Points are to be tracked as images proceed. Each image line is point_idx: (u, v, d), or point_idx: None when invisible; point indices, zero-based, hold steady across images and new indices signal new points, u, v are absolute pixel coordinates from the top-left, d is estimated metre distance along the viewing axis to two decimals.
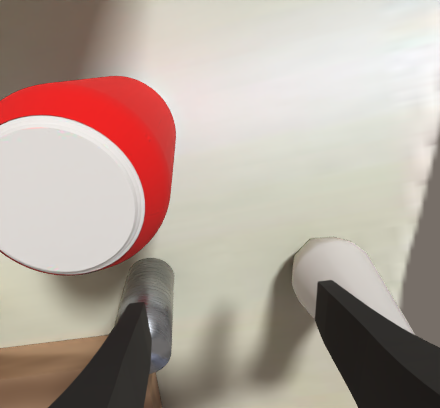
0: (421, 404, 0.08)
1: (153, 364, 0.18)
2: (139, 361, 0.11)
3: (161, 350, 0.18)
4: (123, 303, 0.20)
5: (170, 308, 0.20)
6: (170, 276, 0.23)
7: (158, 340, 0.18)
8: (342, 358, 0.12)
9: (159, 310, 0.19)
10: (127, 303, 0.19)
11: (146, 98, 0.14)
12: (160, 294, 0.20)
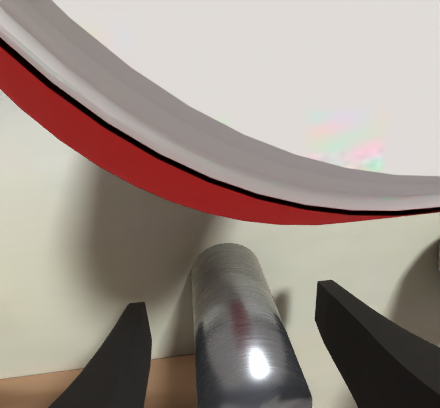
0: (421, 404, 0.08)
1: None
2: (139, 361, 0.11)
3: (294, 407, 0.09)
4: (206, 316, 0.11)
5: None
6: None
7: (293, 390, 0.09)
8: (343, 358, 0.12)
9: (276, 329, 0.11)
10: (216, 316, 0.11)
11: None
12: (265, 300, 0.12)
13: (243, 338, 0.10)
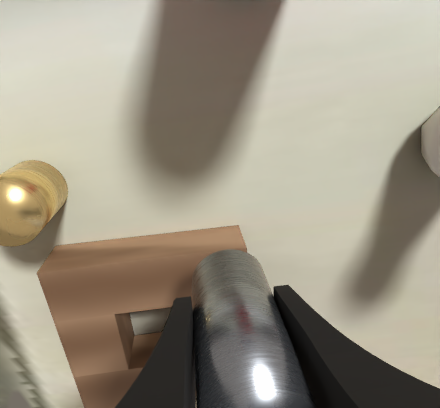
0: None
1: None
2: (192, 354, 0.11)
3: None
4: (208, 329, 0.11)
5: None
6: (266, 280, 0.14)
7: None
8: None
9: (284, 345, 0.10)
10: (219, 331, 0.10)
11: None
12: (272, 313, 0.11)
13: (249, 356, 0.09)
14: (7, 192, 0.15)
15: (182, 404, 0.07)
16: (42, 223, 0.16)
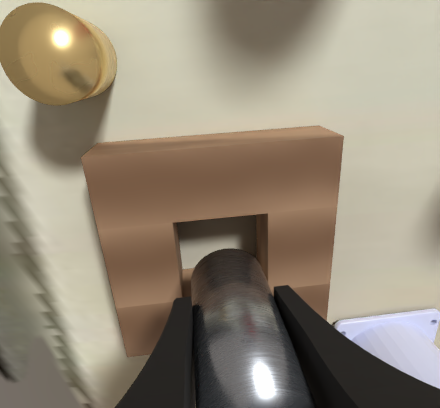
0: None
1: None
2: (192, 354, 0.11)
3: None
4: (209, 327, 0.11)
5: None
6: (266, 280, 0.14)
7: None
8: None
9: (286, 345, 0.10)
10: (221, 329, 0.10)
11: None
12: (273, 313, 0.11)
13: (251, 354, 0.09)
14: (54, 19, 0.11)
15: (182, 404, 0.07)
16: (96, 73, 0.12)
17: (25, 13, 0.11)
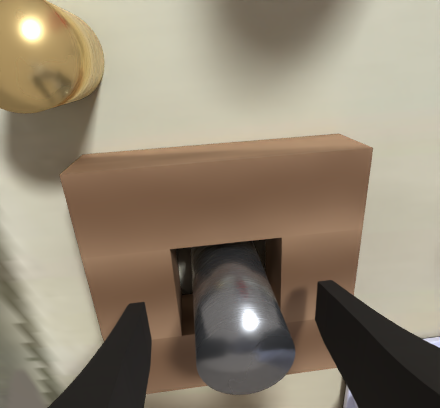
0: (421, 404, 0.08)
1: (262, 379, 0.11)
2: (139, 361, 0.11)
3: (280, 356, 0.11)
4: (206, 281, 0.13)
5: None
6: (255, 250, 0.16)
7: (279, 340, 0.11)
8: (342, 358, 0.12)
9: (267, 292, 0.12)
10: (215, 280, 0.13)
11: None
12: (259, 271, 0.13)
13: (238, 296, 0.11)
14: (19, 5, 0.09)
15: None
16: (74, 73, 0.10)
17: None
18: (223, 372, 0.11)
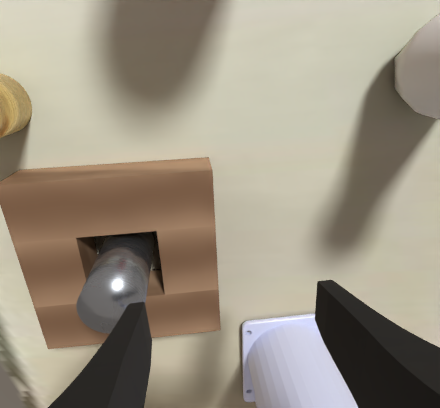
0: (421, 404, 0.08)
1: None
2: (139, 361, 0.11)
3: None
4: (97, 259, 0.19)
5: (147, 269, 0.19)
6: (150, 240, 0.22)
7: (131, 295, 0.17)
8: (342, 358, 0.12)
9: (135, 266, 0.18)
10: (102, 258, 0.18)
11: None
12: (137, 253, 0.19)
13: (109, 267, 0.17)
14: None
15: None
16: None
17: None
18: (96, 316, 0.17)
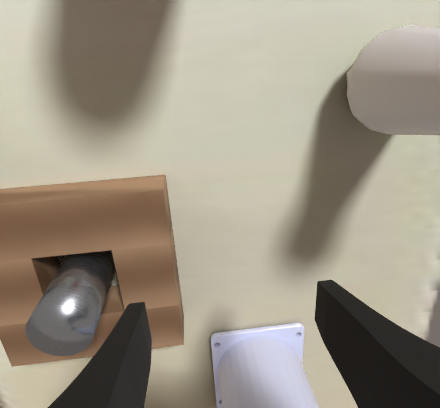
0: (421, 404, 0.08)
1: (75, 345, 0.17)
2: (139, 361, 0.11)
3: (83, 330, 0.17)
4: (51, 281, 0.19)
5: (102, 289, 0.19)
6: (110, 258, 0.22)
7: (79, 319, 0.17)
8: (342, 358, 0.12)
9: (86, 289, 0.18)
10: (54, 281, 0.19)
11: None
12: (92, 274, 0.19)
13: (59, 292, 0.17)
14: None
15: None
16: None
17: None
18: (46, 340, 0.17)
